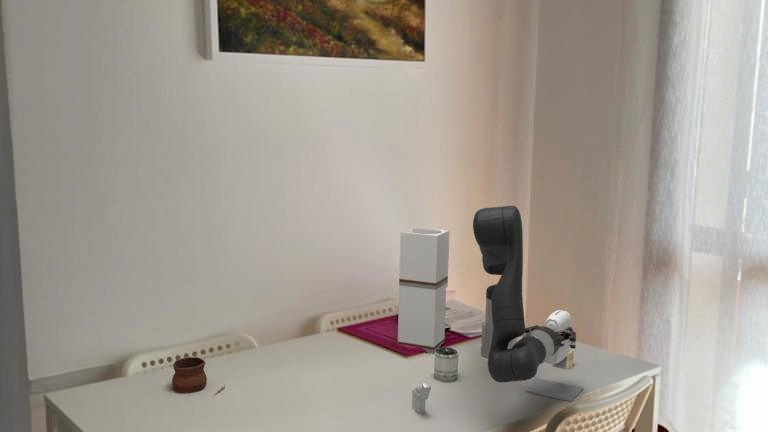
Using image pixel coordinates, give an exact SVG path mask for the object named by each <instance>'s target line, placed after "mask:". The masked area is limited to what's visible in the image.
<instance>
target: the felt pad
mask: <svg viewBox="0 0 768 432" xmlns="http://www.w3.org/2000/svg"><path fill="white" fill-rule="evenodd" d="M583 390H584V387H582V386H576V385H572V384H567V383H562V382H558V381H554V380H549V379H544V378H539V377H537V379H536V380H535V381H534V382H532V383H531V384H530V385H529V386H527V388H525V390H524V392H525V393H526V392H527V393H530V394H534V395H535V394H536V395H538V396H544V397H548V398H551V399H556V400H561V401H566V402H570V403H572V402H573V401H574V400H575V399H576V398H577V397H578V395H580V393H582V391H583Z"/></svg>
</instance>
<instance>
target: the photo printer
mask: <svg viewBox="0 0 768 432" xmlns="http://www.w3.org/2000/svg"><path fill="white" fill-rule="evenodd" d="M544 326H545V327H548V328H550V329H552V330H553V331H560V330H563V331H564V330H566V329H567V328H568V327H572V316H571V315H570V313H569V312H568V311H566V310H562V309H558V310H555V311H553V312H552V313H551V314H550V315H549V316H548V317H547V319H546V321H545V324H544ZM569 349H570V346H569V345H566V344H565V345H564V346H562V347H559V349H558V351H557V352H556V353H555V354H554V355H553V356H552V357H550V358H549V359H548V360H547V361H545V362H544V363H546V364H549V365H552V364H557V363H559V362H560V361H562V360H563V359H564V358H565V357H566V356H568V354H569Z"/></svg>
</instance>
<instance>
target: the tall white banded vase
mask: <svg viewBox="0 0 768 432" xmlns="http://www.w3.org/2000/svg"><path fill="white" fill-rule="evenodd" d="M399 233H400V234H399V235H400V236H399V237H400V238H399V273H398V274H399V275H398V276H399V277H398V278H399V279H398V318H397V319H398V320H397V323H398V325H397V345H398V344H402V345H408V346H415V347H420V348H422V349H424V350H426V351H427V352H428V353H427V354H431V353H432V355H433V354H434V355H435V351H436V350H437V349H439V347H440V346H441V344H443V343H444V341H445V340H447V337H446V336H445V335H446V333H445V331H446V308H447V307H446V305H447V303H446V302H447V288H448V285H449V284H448V283H449V279H448V278H449V260H450V259H449V256H450V254H449V253H450V230H447V229H437V228H436V229H434V228H426V227H416V226H415V227H412V232H406V231H405V232H404V231H401V232H399Z"/></svg>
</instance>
